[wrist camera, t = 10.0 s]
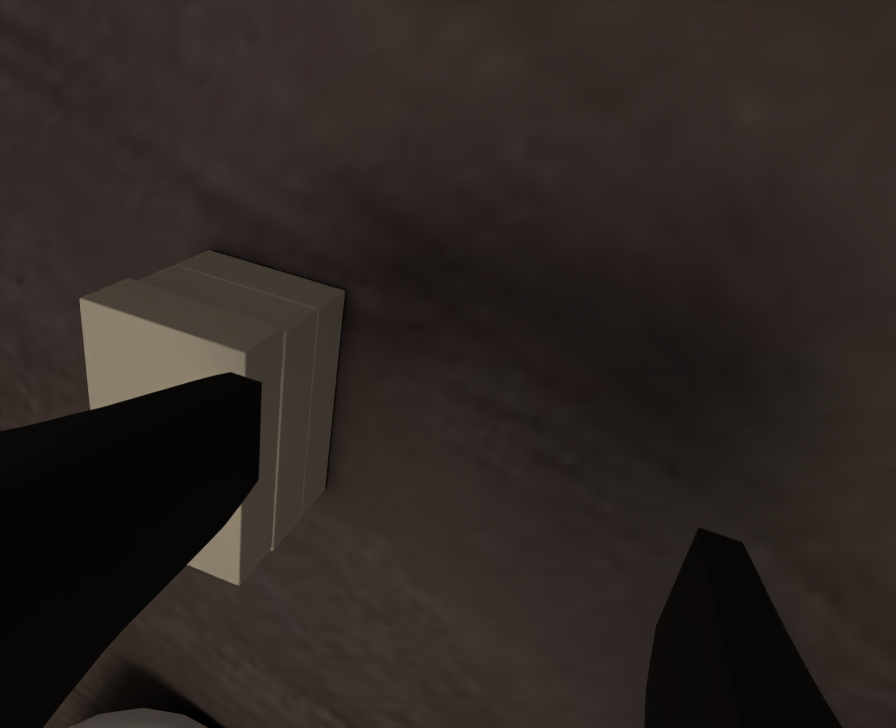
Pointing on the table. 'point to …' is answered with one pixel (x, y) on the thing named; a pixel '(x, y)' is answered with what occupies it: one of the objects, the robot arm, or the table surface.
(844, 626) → the table surface
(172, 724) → the white jar
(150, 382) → the beige box
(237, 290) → the beige block
